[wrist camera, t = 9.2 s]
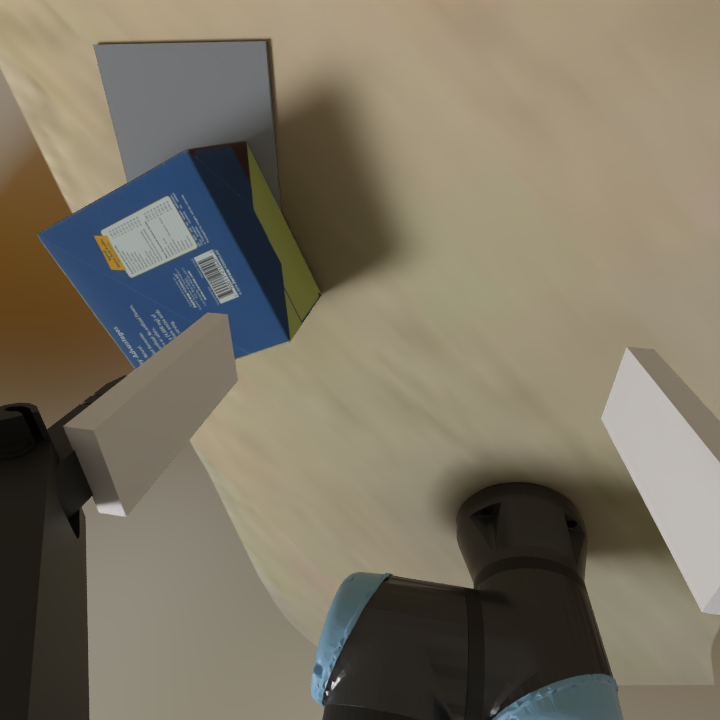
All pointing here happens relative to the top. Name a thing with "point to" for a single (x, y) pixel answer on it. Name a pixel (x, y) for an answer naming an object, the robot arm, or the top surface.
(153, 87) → the slate rubber mat
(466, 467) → the top surface
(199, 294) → the protein box
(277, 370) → the top surface
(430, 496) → the top surface
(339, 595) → the robot arm
